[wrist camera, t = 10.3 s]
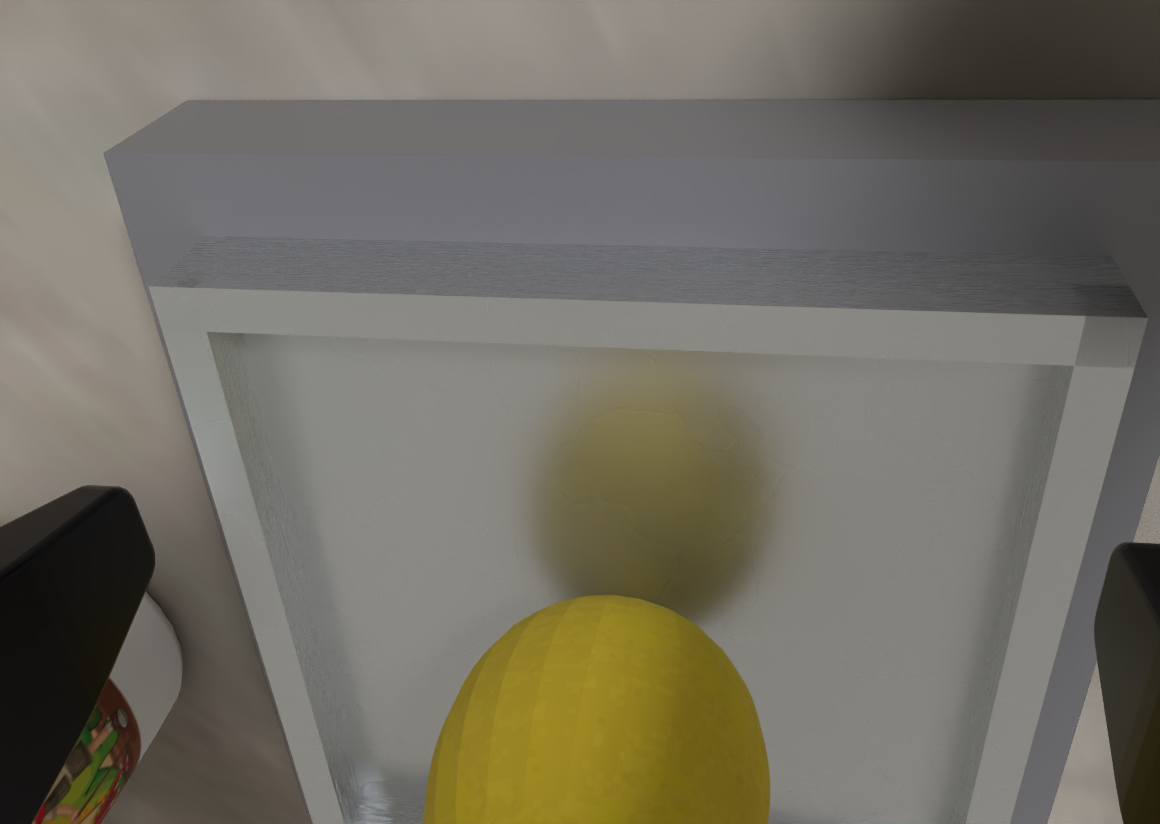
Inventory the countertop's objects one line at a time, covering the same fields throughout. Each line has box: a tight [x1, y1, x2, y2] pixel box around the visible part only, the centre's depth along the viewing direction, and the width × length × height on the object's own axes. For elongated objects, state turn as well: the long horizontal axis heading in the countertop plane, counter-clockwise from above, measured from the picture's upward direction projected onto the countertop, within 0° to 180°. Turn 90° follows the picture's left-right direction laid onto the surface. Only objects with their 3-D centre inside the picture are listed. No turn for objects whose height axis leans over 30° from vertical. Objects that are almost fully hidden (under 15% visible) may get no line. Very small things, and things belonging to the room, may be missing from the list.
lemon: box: [424, 595, 770, 824], centre depth 17 cm, size 6×6×8 cm
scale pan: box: [148, 236, 1148, 824], centre depth 22 cm, size 15×17×4 cm
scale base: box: [104, 99, 1160, 824], centre depth 23 cm, size 18×18×3 cm
